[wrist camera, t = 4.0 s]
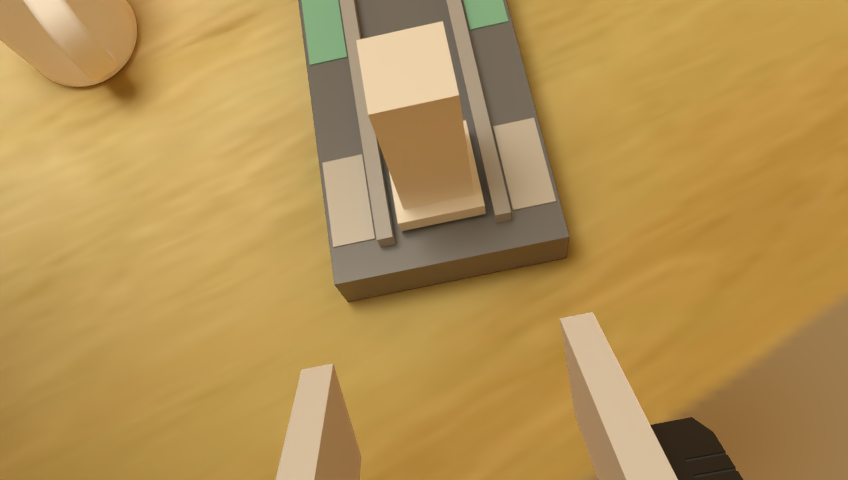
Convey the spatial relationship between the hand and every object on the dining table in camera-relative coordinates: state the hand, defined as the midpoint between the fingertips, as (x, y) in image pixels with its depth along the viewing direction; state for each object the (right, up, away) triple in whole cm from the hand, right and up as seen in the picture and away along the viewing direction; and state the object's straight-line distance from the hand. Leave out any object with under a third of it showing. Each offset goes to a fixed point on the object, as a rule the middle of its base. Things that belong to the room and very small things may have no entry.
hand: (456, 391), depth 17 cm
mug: (-23, +17, +32) cm, 43 cm away
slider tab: (0, +7, +21) cm, 22 cm away
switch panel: (-1, +12, +27) cm, 30 cm away
